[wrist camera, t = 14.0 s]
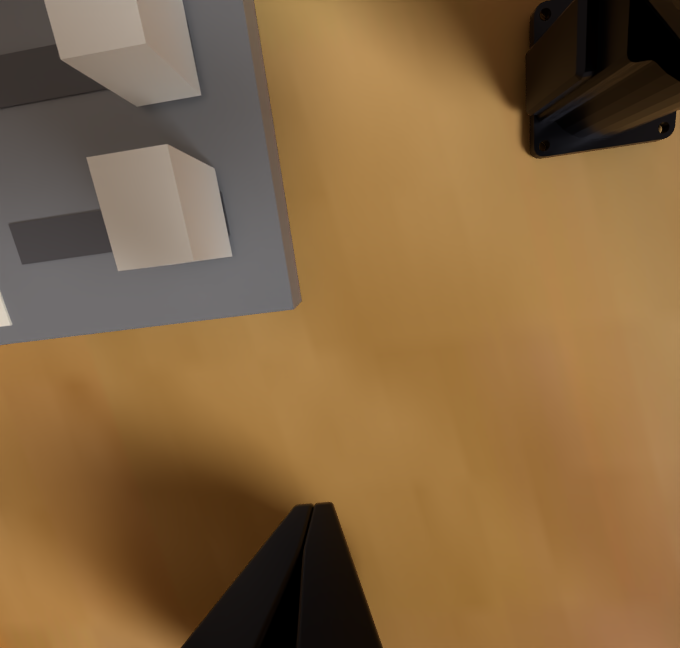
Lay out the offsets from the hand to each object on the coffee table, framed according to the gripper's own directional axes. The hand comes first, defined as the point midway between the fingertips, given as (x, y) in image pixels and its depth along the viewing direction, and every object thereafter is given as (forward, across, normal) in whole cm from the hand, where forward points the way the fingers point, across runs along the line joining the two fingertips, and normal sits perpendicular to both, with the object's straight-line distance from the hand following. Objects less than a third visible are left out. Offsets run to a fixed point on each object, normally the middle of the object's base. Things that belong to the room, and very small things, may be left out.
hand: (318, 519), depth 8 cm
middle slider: (+10, +6, -15) cm, 19 cm away
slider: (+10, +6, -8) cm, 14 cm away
